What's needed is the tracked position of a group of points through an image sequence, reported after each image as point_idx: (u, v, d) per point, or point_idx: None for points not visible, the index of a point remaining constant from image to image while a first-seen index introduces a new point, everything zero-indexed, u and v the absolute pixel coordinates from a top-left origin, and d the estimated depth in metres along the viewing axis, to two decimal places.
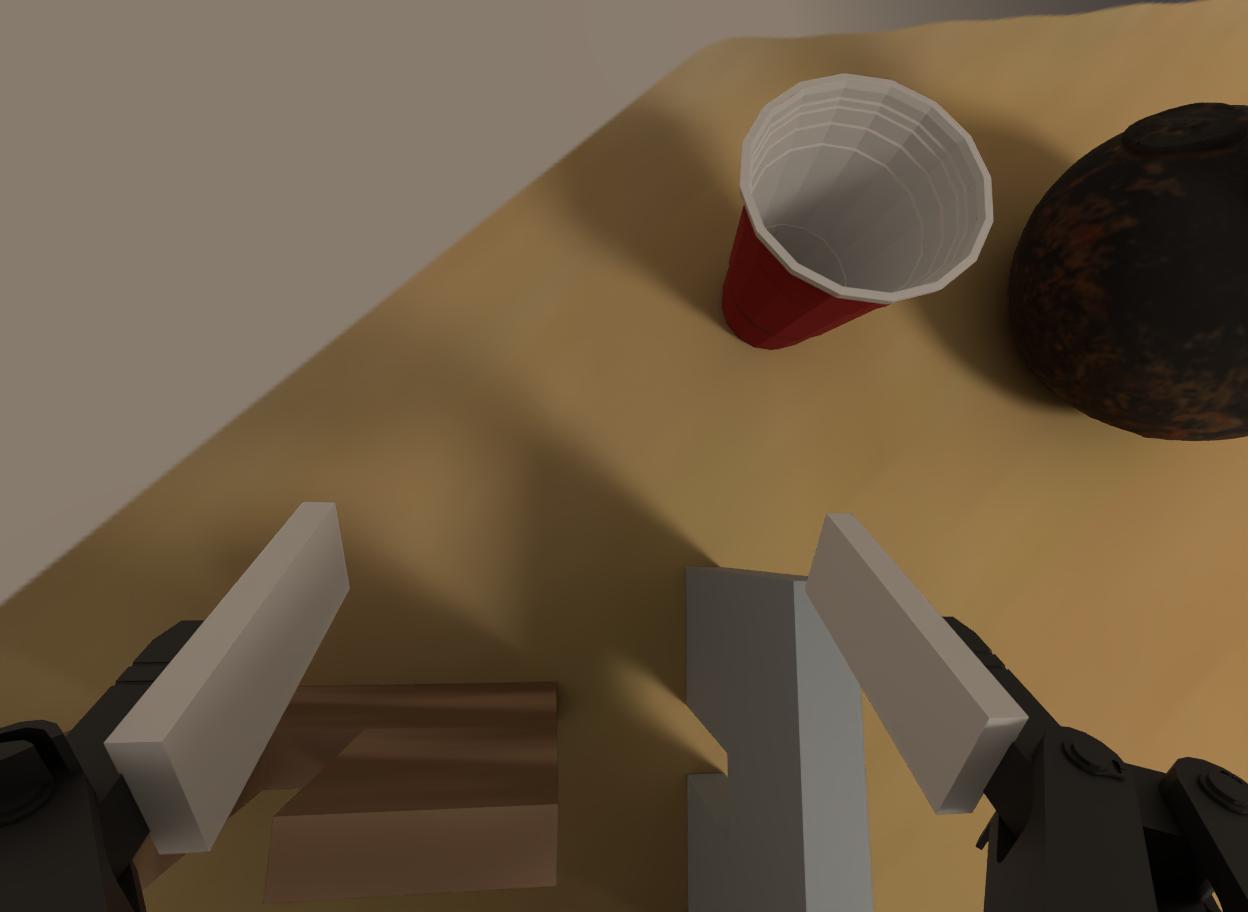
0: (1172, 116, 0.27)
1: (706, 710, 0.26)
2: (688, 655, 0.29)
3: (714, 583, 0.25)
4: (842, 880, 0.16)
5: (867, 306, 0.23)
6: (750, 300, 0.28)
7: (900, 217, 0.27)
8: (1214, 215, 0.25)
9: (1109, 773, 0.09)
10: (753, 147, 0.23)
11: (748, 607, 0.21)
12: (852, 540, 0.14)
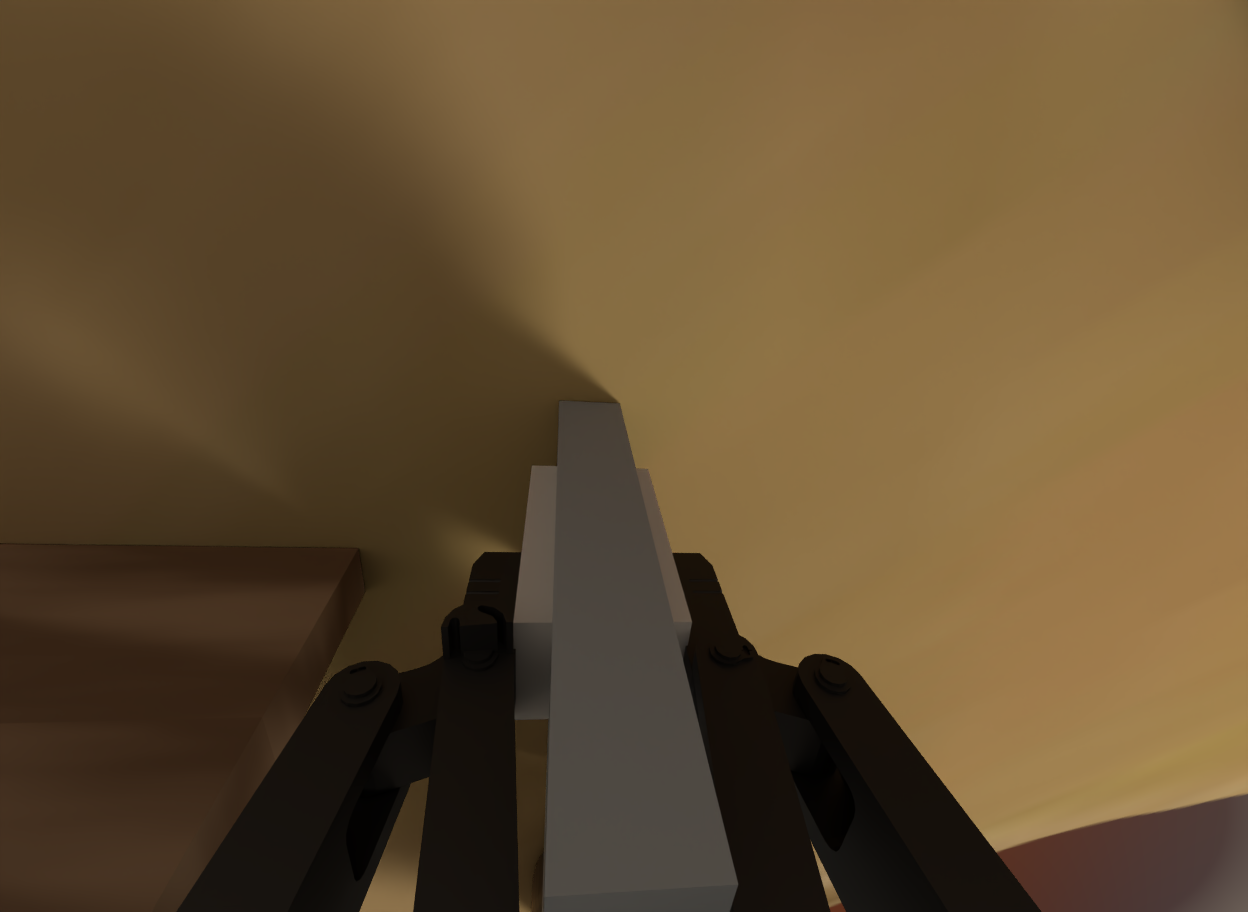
0: None
1: None
2: None
3: None
4: None
5: None
6: None
7: None
8: None
9: (742, 659, 0.10)
10: None
11: None
12: None
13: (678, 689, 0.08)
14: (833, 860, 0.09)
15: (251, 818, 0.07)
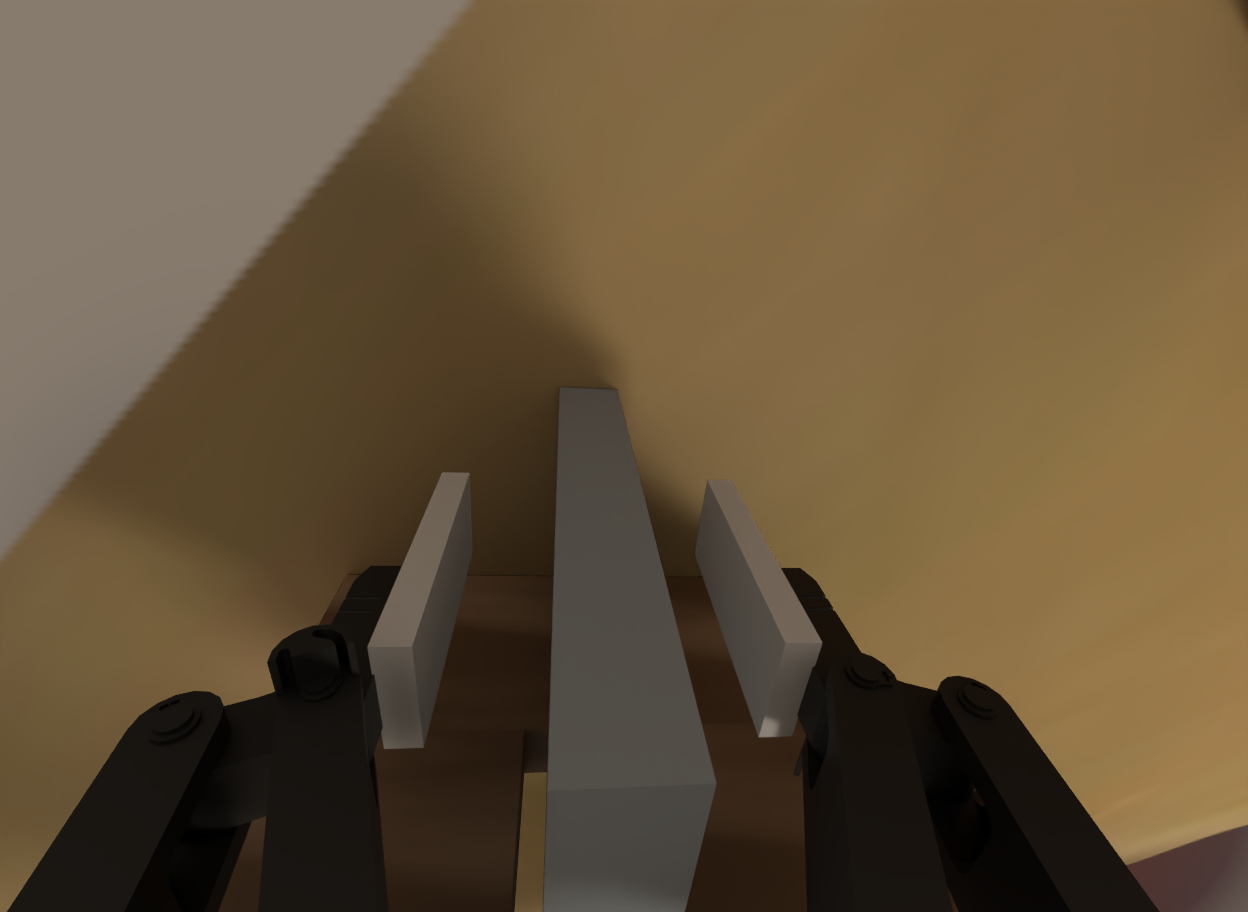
0: None
1: None
2: None
3: None
4: None
5: None
6: None
7: None
8: None
9: (880, 684, 0.10)
10: None
11: None
12: (721, 502, 0.15)
13: (668, 632, 0.09)
14: (960, 882, 0.09)
15: (38, 889, 0.06)
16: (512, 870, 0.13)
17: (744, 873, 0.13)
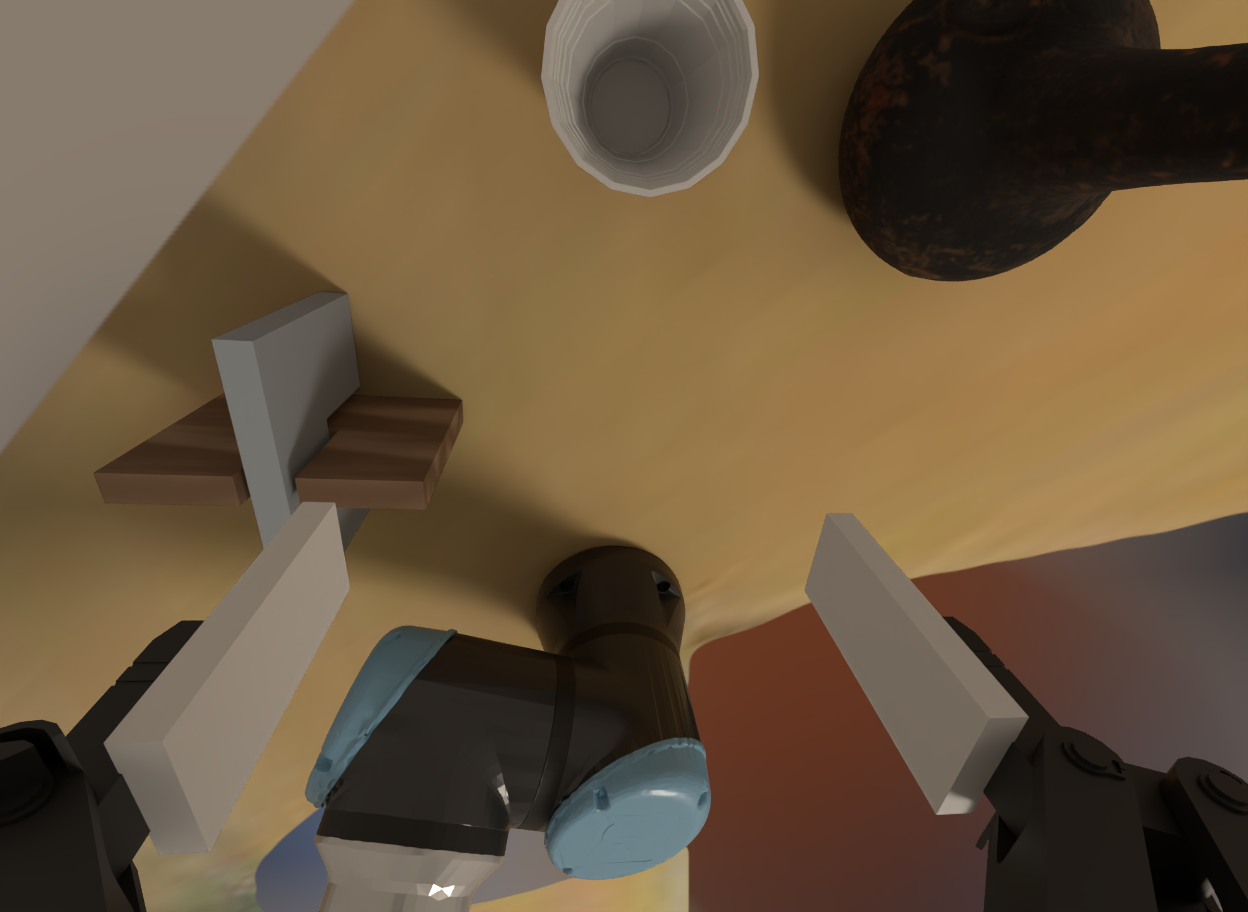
0: None
1: None
2: None
3: None
4: (266, 480, 0.32)
5: None
6: None
7: (713, 72, 0.30)
8: (958, 112, 0.29)
9: (1109, 773, 0.09)
10: (557, 29, 0.26)
11: None
12: (852, 540, 0.14)
13: (271, 330, 0.31)
14: None
15: None
16: None
17: (349, 457, 0.35)
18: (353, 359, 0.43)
